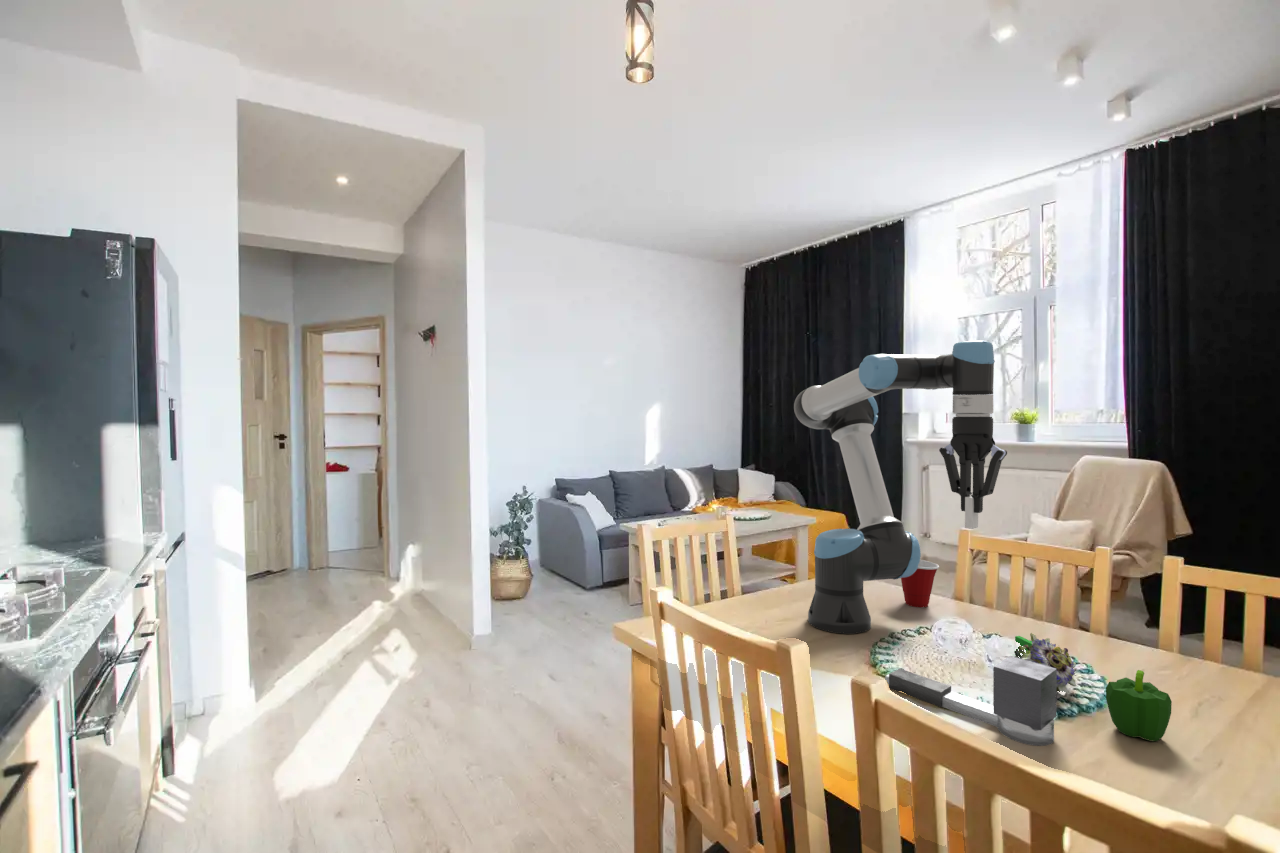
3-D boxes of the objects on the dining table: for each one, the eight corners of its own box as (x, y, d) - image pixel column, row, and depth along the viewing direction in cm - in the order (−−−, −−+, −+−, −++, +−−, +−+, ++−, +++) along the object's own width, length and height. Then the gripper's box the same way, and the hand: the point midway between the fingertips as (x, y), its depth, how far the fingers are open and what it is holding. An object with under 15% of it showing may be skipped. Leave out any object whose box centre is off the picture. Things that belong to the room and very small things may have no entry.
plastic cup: (946, 610, 164) (946, 566, 164) (906, 610, 164) (906, 566, 164) (928, 598, 175) (928, 556, 174) (890, 598, 175) (890, 556, 175)
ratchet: (878, 689, 118) (878, 653, 118) (900, 678, 123) (900, 643, 123) (1043, 751, 96) (1043, 707, 96) (1061, 734, 101) (1061, 692, 101)
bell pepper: (1153, 752, 96) (1153, 689, 95) (1096, 727, 103) (1096, 669, 103) (1183, 740, 99) (1183, 679, 99) (1125, 717, 107) (1126, 660, 106)
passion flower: (1060, 722, 115) (1053, 684, 110) (1002, 690, 125) (993, 653, 119) (1090, 680, 119) (1085, 641, 114) (1032, 651, 128) (1024, 614, 123)
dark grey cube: (993, 713, 102) (993, 666, 102) (1010, 701, 107) (1010, 655, 106) (1040, 730, 97) (1041, 680, 97) (1056, 716, 101) (1056, 668, 101)
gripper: (932, 415, 131) (931, 525, 131) (998, 416, 120) (997, 534, 121) (949, 415, 135) (948, 521, 136) (1014, 415, 125) (1012, 530, 126)
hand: (971, 527), depth 128 cm, fingers closed
